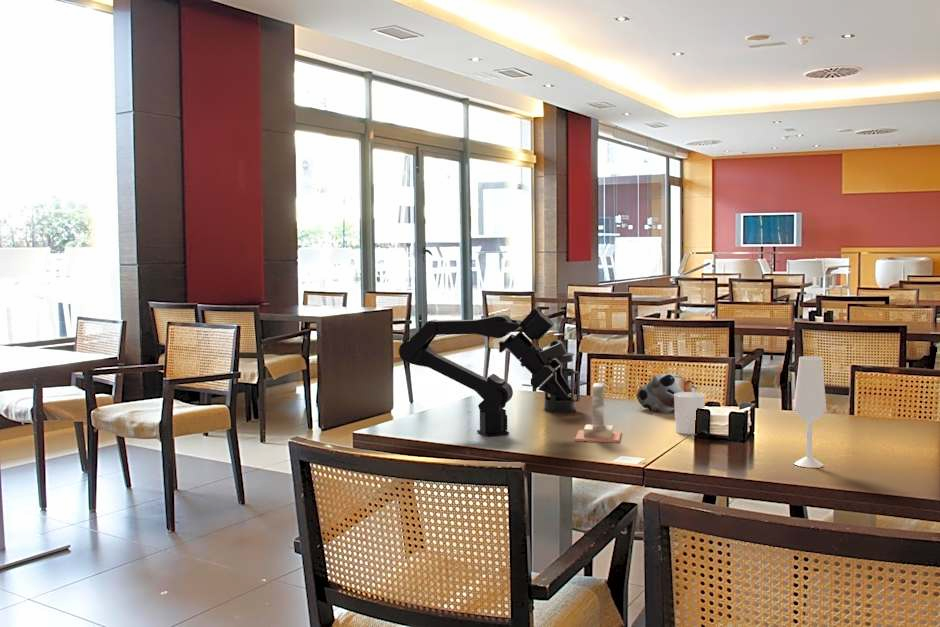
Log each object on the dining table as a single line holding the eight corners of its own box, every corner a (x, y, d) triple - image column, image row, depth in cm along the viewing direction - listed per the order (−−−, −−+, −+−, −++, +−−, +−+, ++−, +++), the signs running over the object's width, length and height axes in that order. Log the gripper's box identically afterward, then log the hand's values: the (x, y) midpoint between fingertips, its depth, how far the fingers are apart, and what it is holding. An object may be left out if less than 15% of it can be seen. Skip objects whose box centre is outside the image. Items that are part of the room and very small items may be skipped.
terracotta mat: (574, 441, 224) (575, 438, 224) (579, 432, 234) (579, 429, 234) (619, 442, 221) (619, 440, 221) (621, 433, 232) (621, 431, 232)
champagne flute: (817, 461, 200) (819, 355, 198) (830, 468, 194) (832, 359, 192) (787, 461, 200) (789, 356, 198) (799, 469, 193) (801, 359, 192)
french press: (536, 410, 266) (535, 334, 264) (550, 405, 274) (549, 331, 272) (572, 414, 259) (571, 335, 258) (585, 408, 267) (585, 332, 266)
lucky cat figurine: (677, 404, 272) (695, 367, 266) (685, 427, 261) (704, 389, 255) (631, 392, 270) (649, 354, 264) (637, 414, 259) (656, 375, 253)
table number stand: (583, 436, 226) (583, 386, 225) (585, 432, 231) (585, 382, 230) (611, 437, 224) (611, 386, 223) (612, 432, 230) (612, 383, 229)
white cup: (702, 429, 236) (702, 392, 235) (707, 435, 228) (707, 397, 228) (671, 428, 237) (672, 391, 236) (675, 435, 229) (676, 396, 228)
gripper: (543, 334, 219) (588, 380, 218) (552, 327, 237) (594, 369, 236) (512, 365, 222) (556, 410, 220) (523, 356, 240) (564, 398, 238)
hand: (569, 396), depth 229 cm, fingers open, 9 cm apart
